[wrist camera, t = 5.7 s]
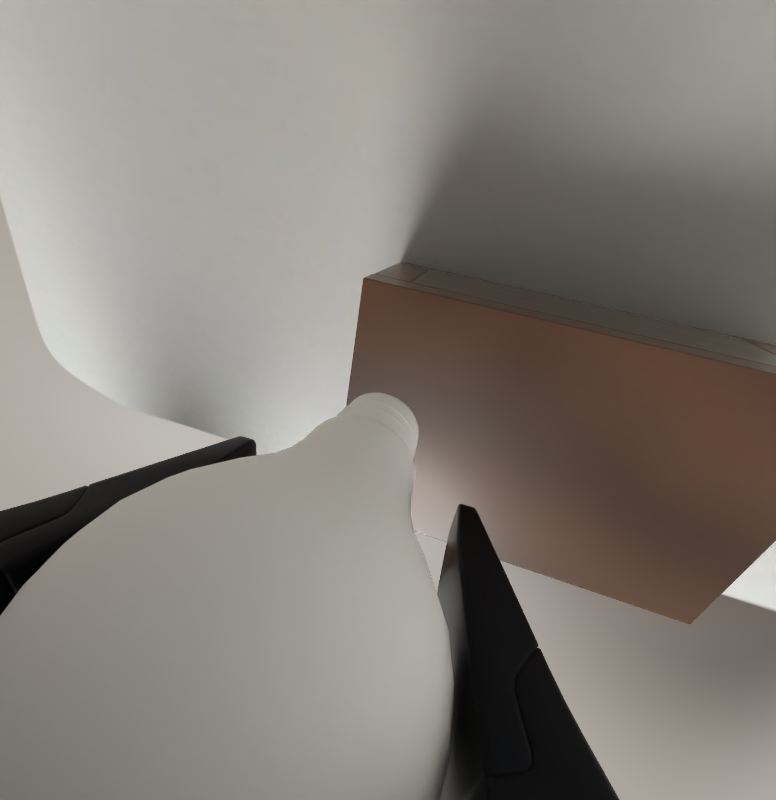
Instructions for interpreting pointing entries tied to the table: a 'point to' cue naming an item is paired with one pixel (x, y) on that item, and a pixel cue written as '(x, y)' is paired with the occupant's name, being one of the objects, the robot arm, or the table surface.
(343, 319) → the table surface
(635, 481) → the dark wooden block
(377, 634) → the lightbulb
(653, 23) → the table surface
